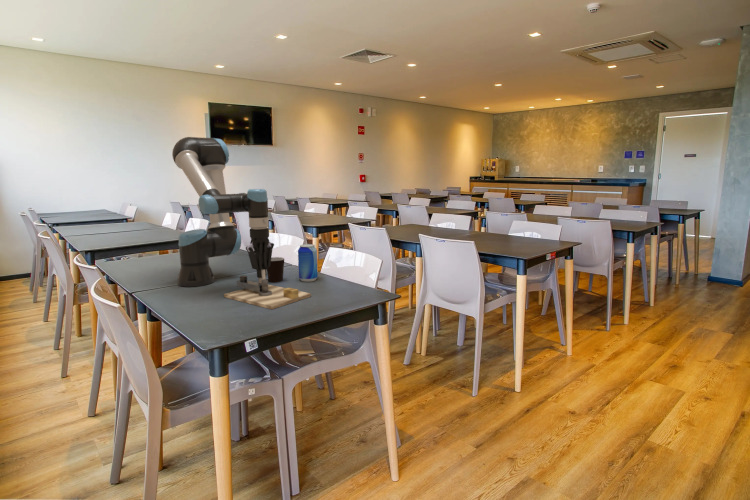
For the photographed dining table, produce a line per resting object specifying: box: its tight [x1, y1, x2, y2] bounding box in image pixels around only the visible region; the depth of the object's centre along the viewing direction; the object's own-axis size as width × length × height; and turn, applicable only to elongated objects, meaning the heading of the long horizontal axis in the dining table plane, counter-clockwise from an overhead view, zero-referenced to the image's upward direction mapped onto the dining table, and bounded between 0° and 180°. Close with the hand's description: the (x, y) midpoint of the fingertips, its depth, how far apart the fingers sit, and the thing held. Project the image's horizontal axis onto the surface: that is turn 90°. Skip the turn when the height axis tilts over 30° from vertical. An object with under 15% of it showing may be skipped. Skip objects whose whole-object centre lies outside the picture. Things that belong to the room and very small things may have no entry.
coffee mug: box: [266, 256, 285, 283], centre depth 197 cm, size 12×9×10 cm
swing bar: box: [236, 275, 262, 292], centre depth 174 cm, size 14×3×4 cm, turn 54°
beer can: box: [297, 243, 319, 283], centre depth 196 cm, size 8×8×16 cm
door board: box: [223, 278, 312, 310], centre depth 170 cm, size 28×20×7 cm
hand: (262, 284), depth 178 cm, fingers closed
